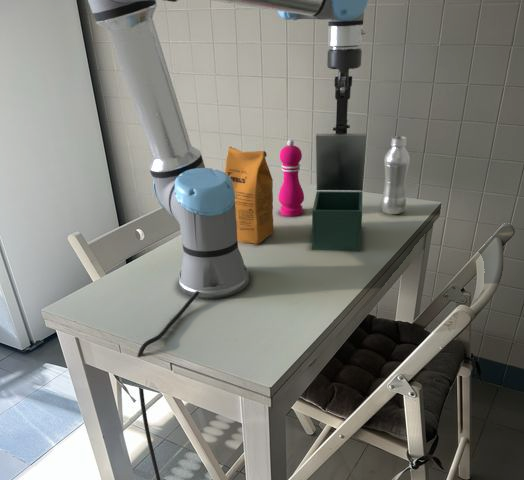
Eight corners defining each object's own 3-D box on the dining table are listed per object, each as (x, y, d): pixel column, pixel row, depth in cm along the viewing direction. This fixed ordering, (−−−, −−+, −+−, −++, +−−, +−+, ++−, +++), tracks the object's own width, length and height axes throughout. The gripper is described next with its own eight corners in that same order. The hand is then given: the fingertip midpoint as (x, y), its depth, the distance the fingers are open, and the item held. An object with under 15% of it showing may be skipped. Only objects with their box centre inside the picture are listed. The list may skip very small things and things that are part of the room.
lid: (366, 135, 122) (366, 133, 122) (315, 135, 123) (316, 133, 124) (362, 190, 134) (362, 188, 134) (316, 190, 136) (316, 188, 136)
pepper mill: (300, 218, 148) (299, 143, 137) (275, 216, 150) (273, 142, 139) (306, 209, 154) (307, 136, 142) (283, 207, 156) (281, 136, 145)
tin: (359, 250, 128) (362, 211, 123) (311, 249, 130) (312, 210, 124) (360, 228, 140) (362, 191, 134) (316, 227, 142) (316, 191, 136)
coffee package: (242, 225, 145) (237, 141, 133) (279, 234, 139) (277, 147, 126) (218, 237, 139) (210, 150, 126) (256, 247, 132) (251, 156, 120)
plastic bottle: (406, 216, 146) (415, 140, 134) (382, 217, 146) (388, 141, 135) (402, 208, 151) (410, 134, 140) (378, 209, 151) (384, 135, 140)
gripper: (362, 50, 111) (355, 164, 124) (361, 44, 122) (355, 151, 135) (326, 51, 112) (323, 164, 126) (329, 45, 123) (326, 151, 136)
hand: (340, 157), depth 130 cm, fingers closed
